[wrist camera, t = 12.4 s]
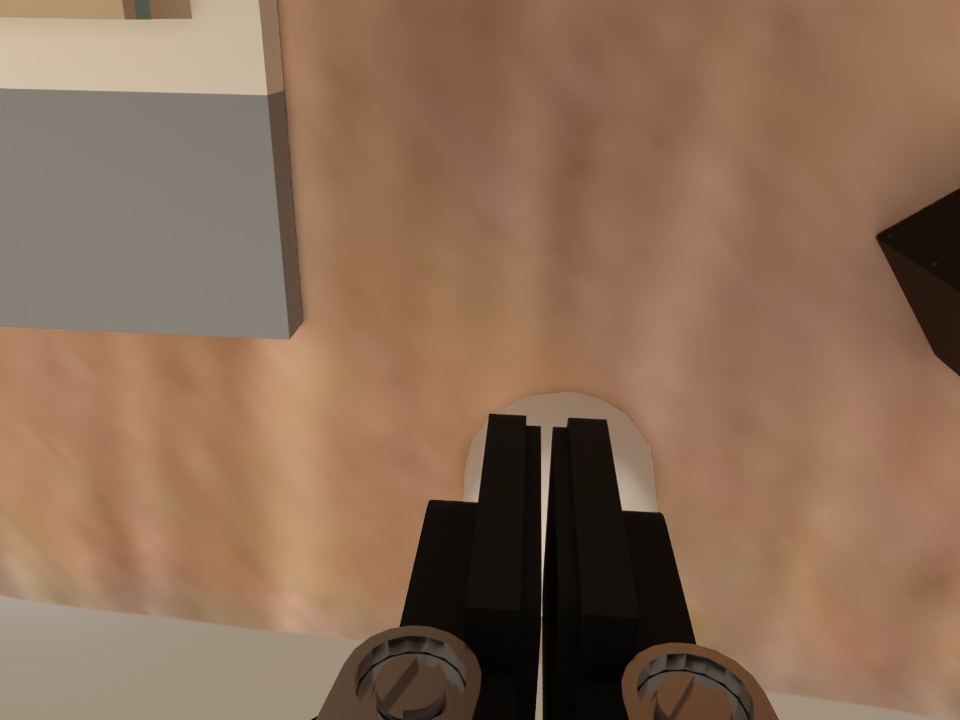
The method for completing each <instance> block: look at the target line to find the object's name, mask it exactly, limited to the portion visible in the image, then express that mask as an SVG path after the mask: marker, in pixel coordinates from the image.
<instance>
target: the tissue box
mask: <svg viewBox="0 0 960 720" xmlns="http://www.w3.org/2000/svg"><path fill="white" fill-rule="evenodd" d="M877 240H878V242H879V244H880V246H881V248H882V250H883V252H884V254H885V256H886V258H887V260H888V262H889V264H890V266H891V268H892V270H893V272H894V274H895V276H896V278H897V280H898V282H899V284H900V286H901V288H902V290H903V292H904V294H905V296H906V298H907V300H908V302H909V303H910V305H911V307H912V309H913V311H914V313H915V315H916V317H917V319H918V321H919V323H920V325H921V327H922V329H923V331H924V333H925V335H926V337H927V339H928V341H929V343H930V345H931V347H932V349H933V351H934V353H935V355H936V356H937V357H938V358H939V359H940V360H941V361H943V362H944V363H945V364H946V365H947V366H948V367H950V368H951V369H952V370H953V371H954V372H955V373H957V374H958V375H959V376H960V190H958V191H956V192H954V193H953V194H951V195H949V196H947V197H945V198H944V199H942V200H940V201H938V202H936V203H935V204H933V205H931V206H929V207H927V208H926V209H924V210H922V211H920V212H919V213H917V214H915V215H913V216H911V217H910V218H908V219H906V220H904V221H902V222H901V223H898V224H897V225H895V226H893V227H892V228H890V229H888V230H887V231H885V232H883V233H881V234H879V235H878V236H877Z"/></svg>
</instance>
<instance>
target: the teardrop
mask: <svg viewBox="0 0 960 720" xmlns="http://www.w3.org/2000/svg"><path fill="white" fill-rule="evenodd" d="M496 414H506V415H526V425H529V426H541V525H542V587H543V568H544V553H545V537H546V522H547V506H548V491H549V475H550V460H551V444H552V430H553V427H567V421H568V418H588V419H606V420H607V423H608V429H609V435H610V441H611V447H612V453H613V459H614V465H615V471H616V477H617V483H618V489H619V495H620V501H621V507H622V510H624V511H642V512H658V508H657V497H656V488H655V480H654V472H653V463H652V455H651V448H650V446H649V445H648V443H647V442H646V440H645V439H644V438H643V436H642V435H641V433H640V432H639V431H638V429H637V428H636V426H635V425H634V423H633V422H632V421H631V419H630V418H629V416H628V415H627V414H625V413H624V412H622V411H620V410H619V409H617V408H615V407H614V406H612V405H611V404H609V403H607V402H606V401H604V400H602V399H600V398H596V397H592V396H588V395H584V394H580V393H576V392H572V391H569V392H560V393H550V394H541V395H532V396H525V397H523V398H522V399H520V400H518V401H516V402H515V403H513V404H511V405H510V406H508V407H506V408H505V409H503V410H501V411H500V412H498V413H496ZM487 426H488V419H487V421H486V422H485V423H484V425H483V426H482V428H481V429H480V430H479V432H478V433H477V434H476V436H475V437H474V439H473V440H472V443H471V446H470V450H469V453H468V457H467V461H466V464H465V478H464V498H463V502H478V497H479V489H480V482H481V474H482V466H483V458H484V450H485V442H486V434H487ZM541 616H542V609H541Z"/></svg>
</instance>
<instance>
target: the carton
mask: <svg viewBox="0 0 960 720" xmlns="http://www.w3.org/2000/svg"><path fill="white" fill-rule="evenodd" d="M0 17H27V18H79V19H132V20H152V19H192V14H191V6H190V0H0Z"/></svg>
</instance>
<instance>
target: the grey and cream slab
mask: <svg viewBox="0 0 960 720" xmlns="http://www.w3.org/2000/svg"><path fill="white" fill-rule="evenodd" d="M190 6H191V14H192V19H152V20H132V19H79V18H27V17H0V327H21V328H43V329H66V330H89V331H111V332H134V333H157V334H179V335H202V336H225V337H247V338H270V339H290V338H291V337H292V336H293V334H294V333H295V332H296V330H297V329H298V328H299V327H300V325H301V324H302V323H303V315H302V302H301V290H300V278H299V266H298V254H297V242H296V229H295V217H294V205H293V193H292V181H291V169H290V156H289V144H288V132H287V120H286V108H285V96H284V83H283V71H282V59H281V47H280V35H279V22H278V10H277V0H190Z"/></svg>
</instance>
